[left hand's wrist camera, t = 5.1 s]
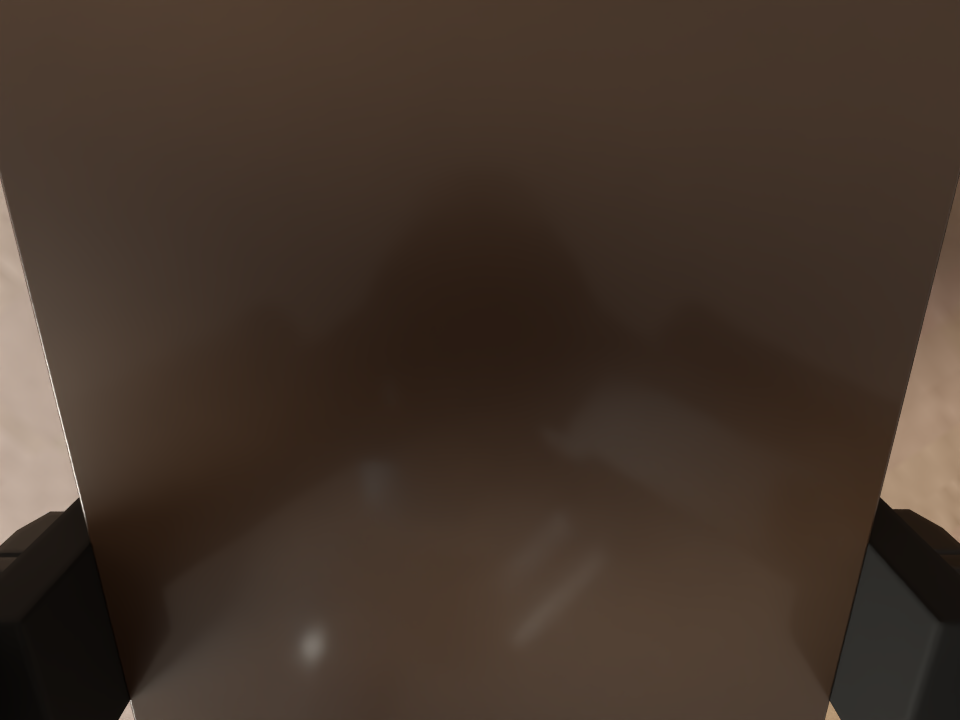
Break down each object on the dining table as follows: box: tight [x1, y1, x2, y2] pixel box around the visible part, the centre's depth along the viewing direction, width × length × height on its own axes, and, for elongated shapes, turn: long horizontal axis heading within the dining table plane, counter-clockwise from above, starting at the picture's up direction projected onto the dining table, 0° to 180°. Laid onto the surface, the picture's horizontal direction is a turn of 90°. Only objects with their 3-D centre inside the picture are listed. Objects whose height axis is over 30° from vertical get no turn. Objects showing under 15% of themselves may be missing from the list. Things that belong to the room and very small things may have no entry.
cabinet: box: [0, 0, 960, 720], centre depth 12 cm, size 17×10×10 cm, turn 0°
